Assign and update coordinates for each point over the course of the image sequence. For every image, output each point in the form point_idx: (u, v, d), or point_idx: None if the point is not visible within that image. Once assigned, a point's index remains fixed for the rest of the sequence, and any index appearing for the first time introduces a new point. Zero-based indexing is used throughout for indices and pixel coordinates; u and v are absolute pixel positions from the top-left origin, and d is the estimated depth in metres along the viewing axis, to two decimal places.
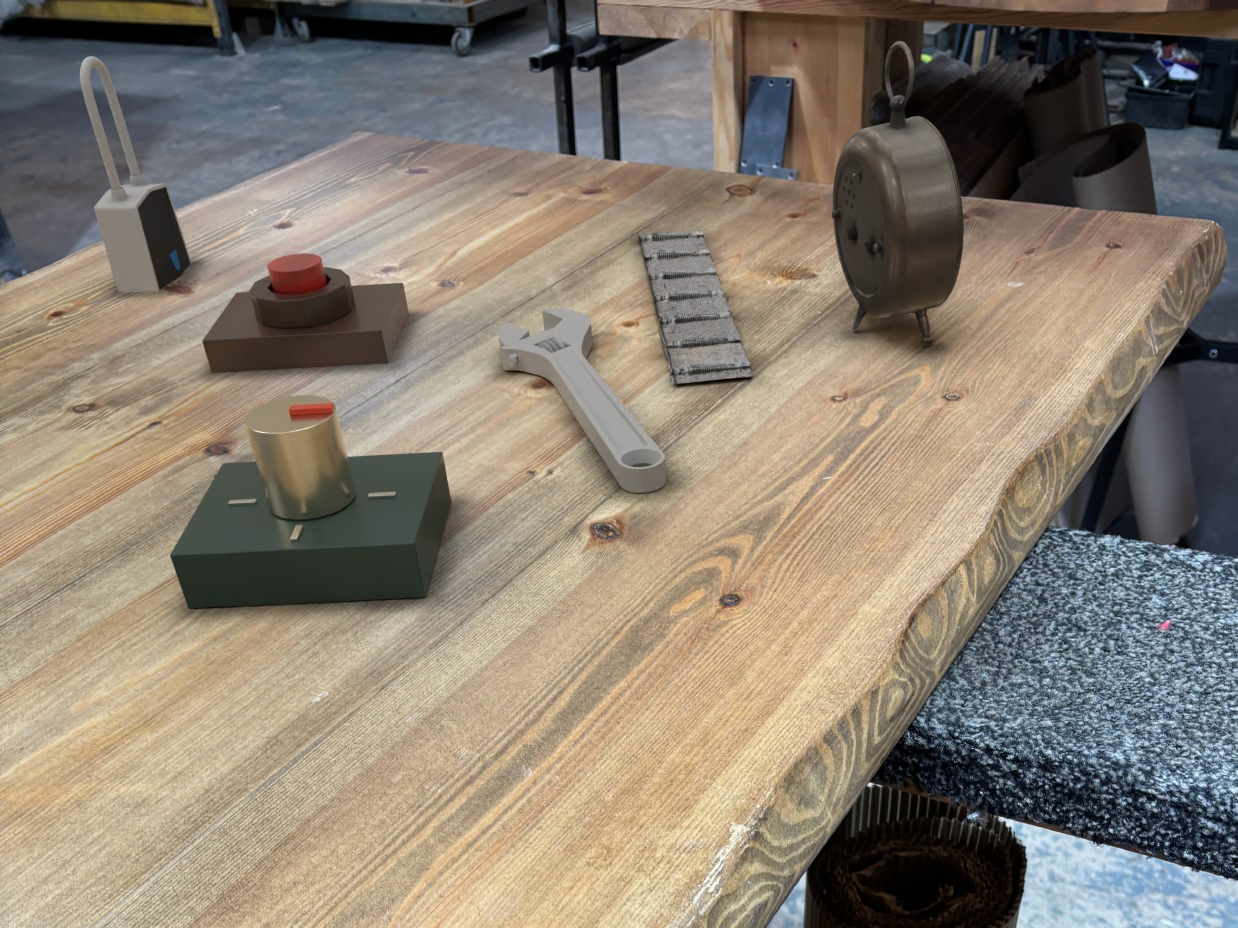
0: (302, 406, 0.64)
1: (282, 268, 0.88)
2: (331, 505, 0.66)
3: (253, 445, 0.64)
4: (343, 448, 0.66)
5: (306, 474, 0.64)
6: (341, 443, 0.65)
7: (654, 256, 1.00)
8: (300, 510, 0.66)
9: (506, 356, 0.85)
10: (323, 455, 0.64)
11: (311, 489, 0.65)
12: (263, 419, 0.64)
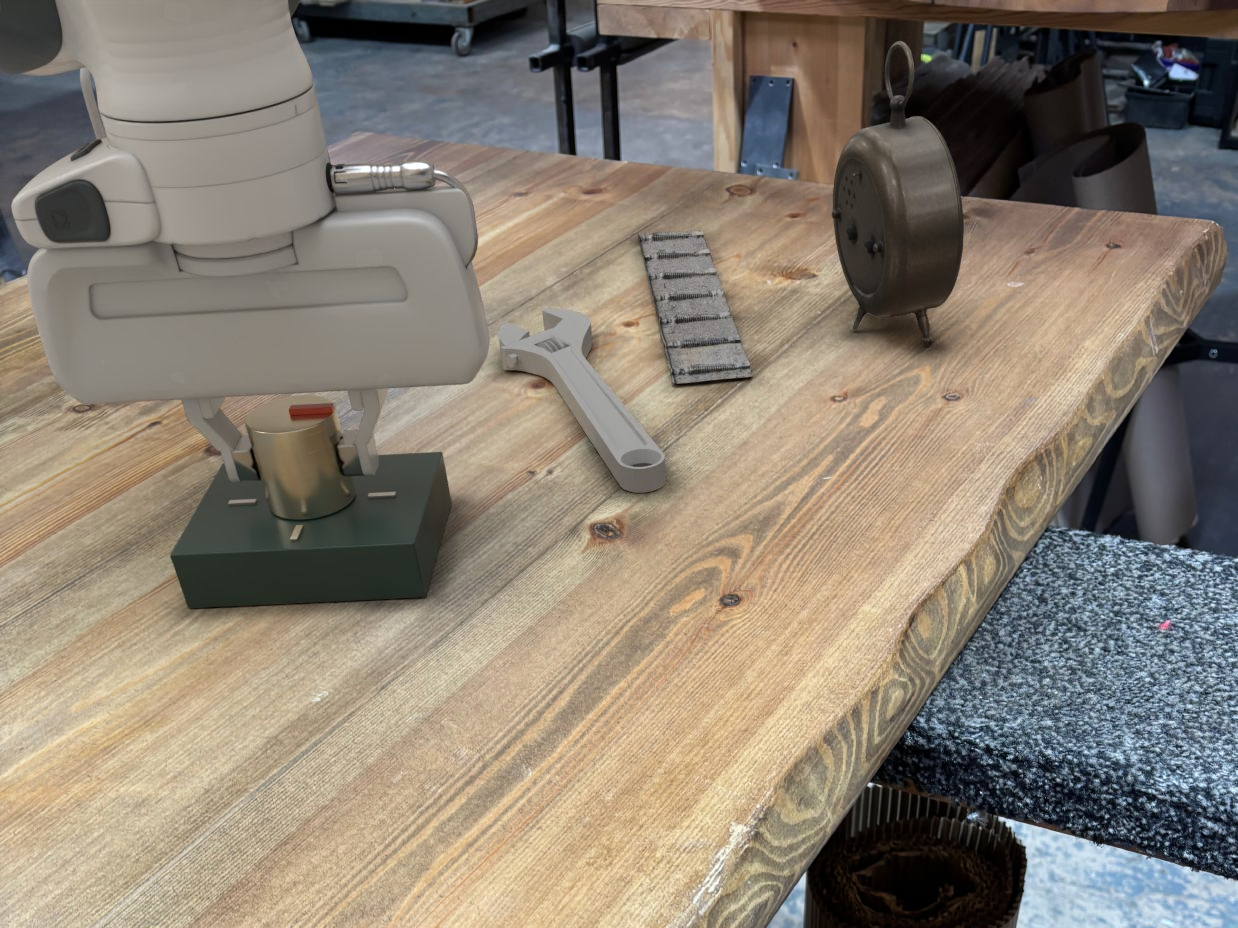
0: (302, 406, 0.64)
1: None
2: (331, 505, 0.66)
3: (253, 445, 0.64)
4: None
5: (305, 474, 0.64)
6: None
7: (654, 256, 1.00)
8: (300, 510, 0.66)
9: (506, 356, 0.85)
10: (323, 455, 0.64)
11: (311, 489, 0.65)
12: (263, 419, 0.64)
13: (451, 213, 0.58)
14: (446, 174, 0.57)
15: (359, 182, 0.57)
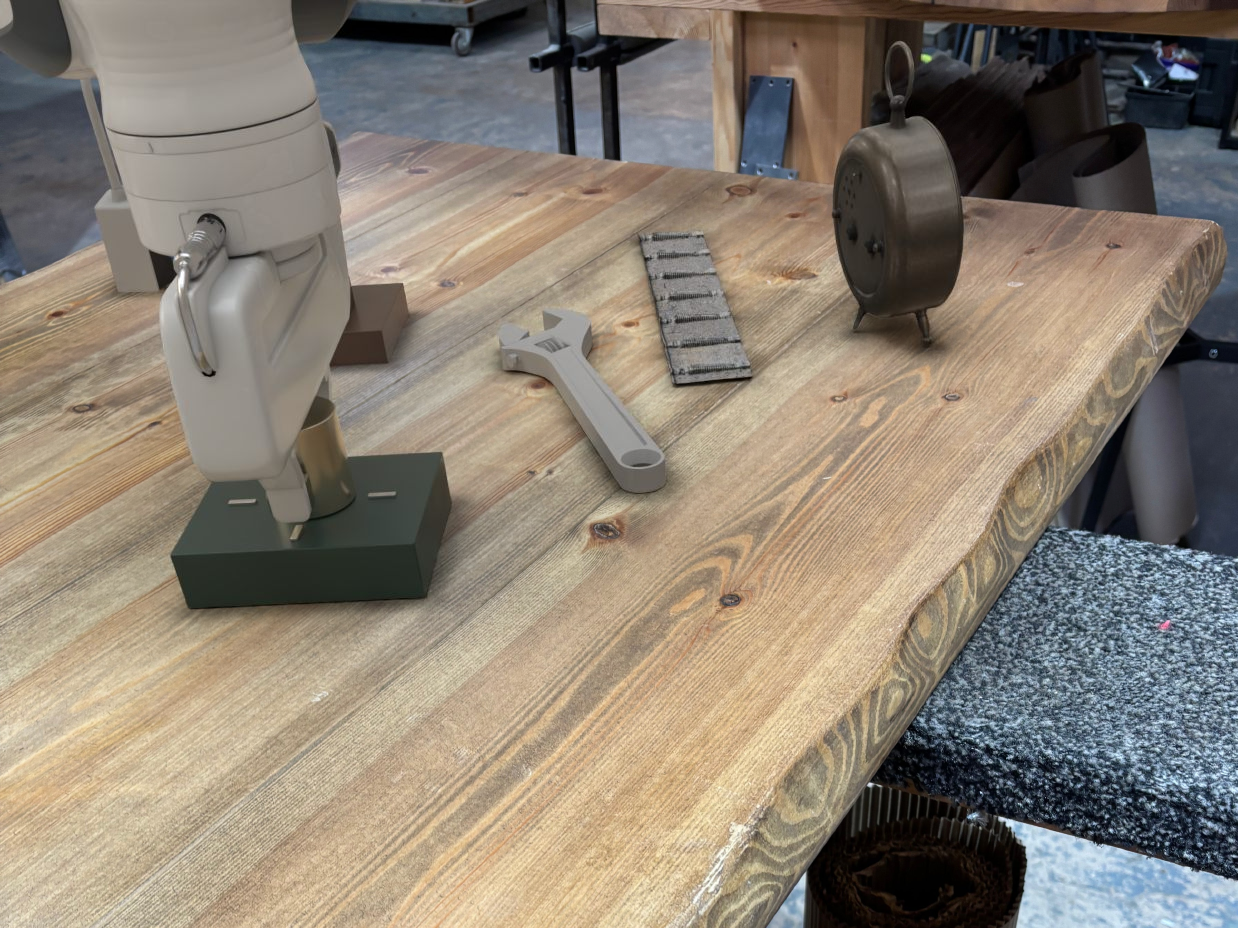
0: None
1: None
2: None
3: None
4: None
5: None
6: None
7: (654, 256, 1.00)
8: None
9: (506, 356, 0.85)
10: None
11: None
12: None
13: None
14: (178, 273, 0.51)
15: None
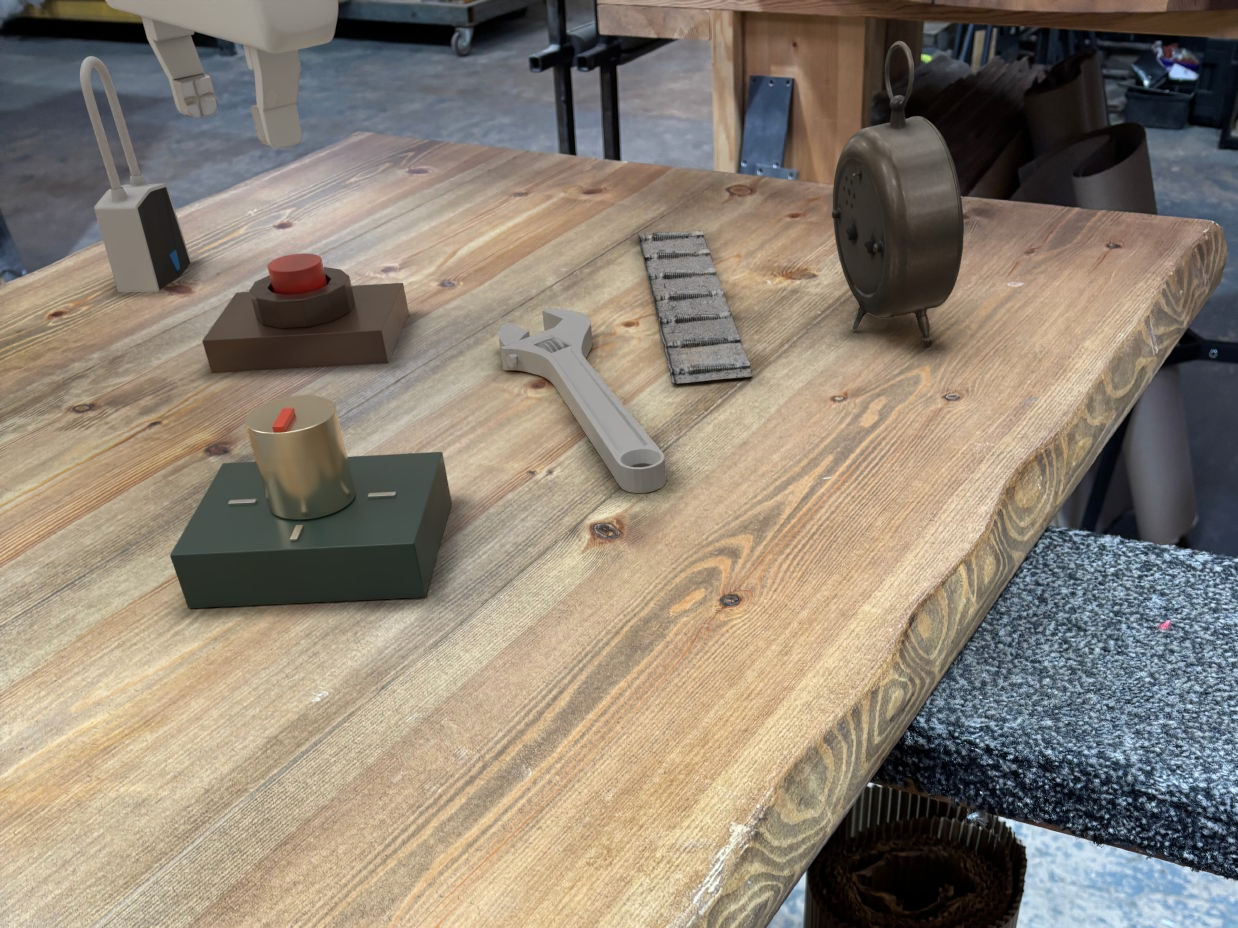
0: (285, 413, 0.64)
1: (282, 268, 0.88)
2: (270, 505, 0.66)
3: None
4: (289, 470, 0.64)
5: None
6: (285, 464, 0.64)
7: (654, 256, 1.00)
8: None
9: (506, 356, 0.85)
10: (259, 459, 0.64)
11: (261, 479, 0.66)
12: (284, 403, 0.65)
13: None
14: None
15: None
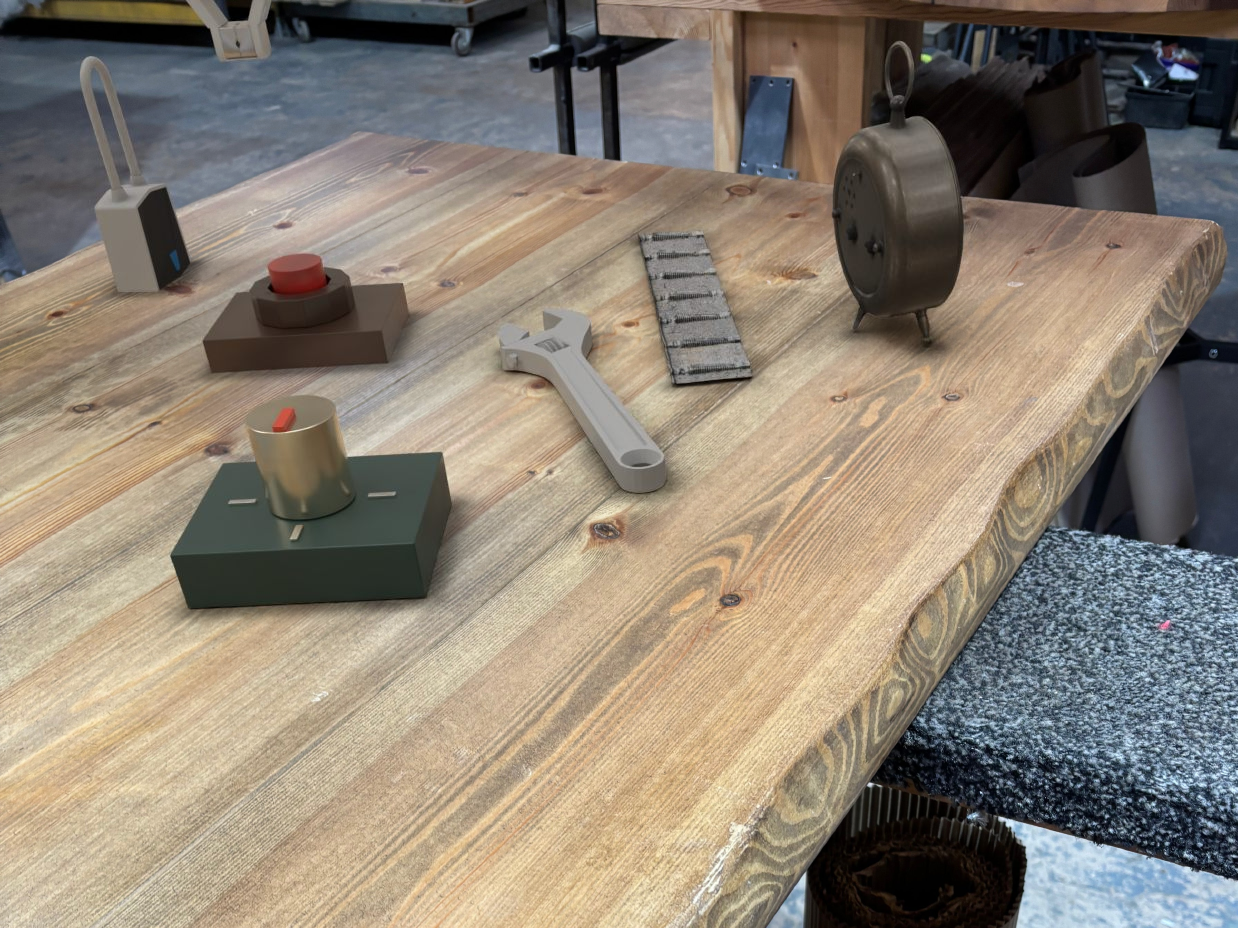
0: (285, 413, 0.64)
1: (282, 268, 0.88)
2: (270, 505, 0.66)
3: None
4: (289, 470, 0.64)
5: None
6: (285, 464, 0.64)
7: (654, 256, 1.00)
8: None
9: (506, 356, 0.85)
10: (259, 459, 0.64)
11: (261, 479, 0.66)
12: (284, 403, 0.65)
13: None
14: None
15: None
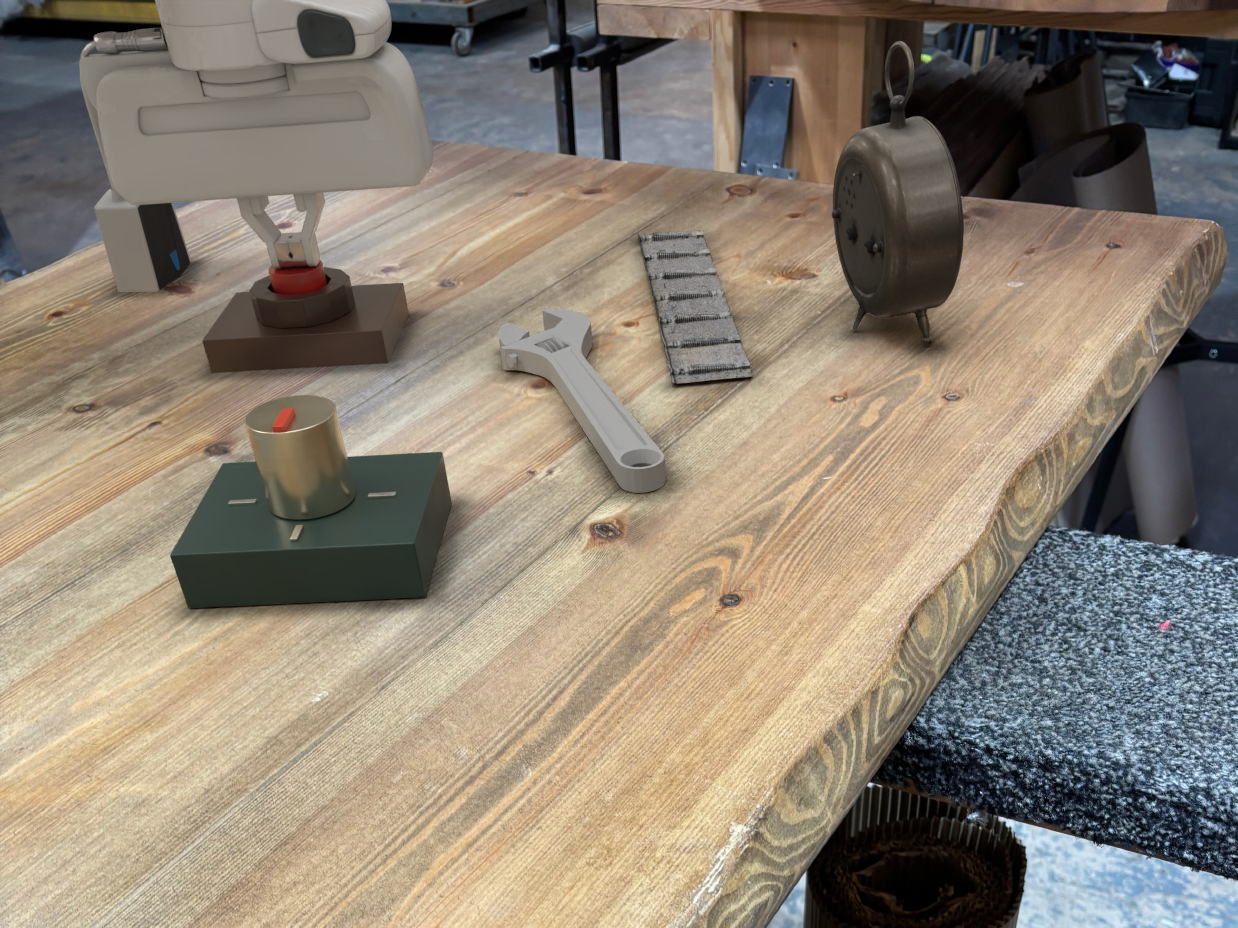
0: (285, 413, 0.64)
1: (283, 272, 0.88)
2: (270, 505, 0.66)
3: None
4: (289, 470, 0.64)
5: None
6: (285, 464, 0.64)
7: (654, 256, 1.00)
8: None
9: (506, 356, 0.85)
10: (259, 459, 0.64)
11: (261, 479, 0.66)
12: (284, 403, 0.65)
13: None
14: (88, 44, 0.80)
15: None
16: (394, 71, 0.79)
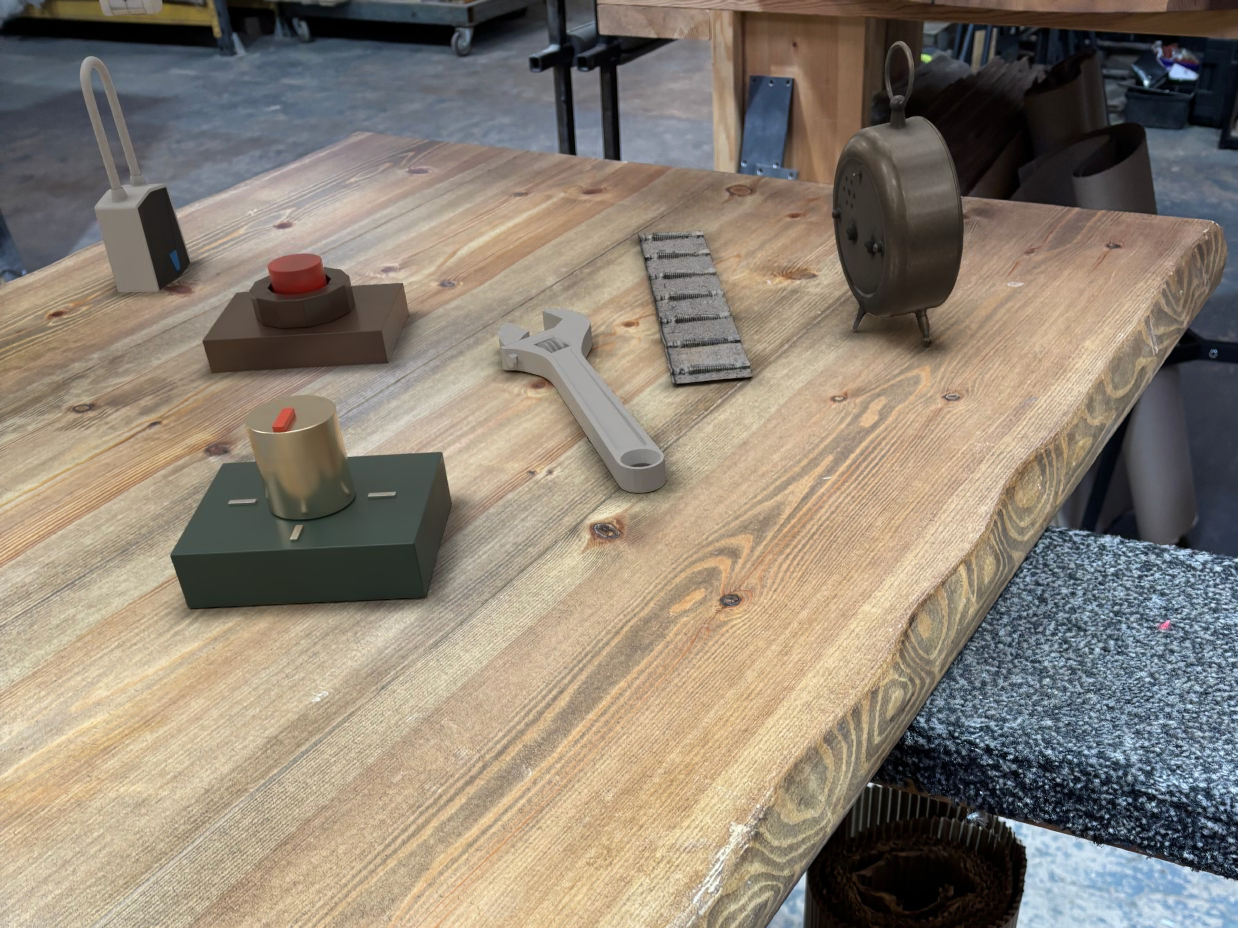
0: (285, 413, 0.64)
1: (282, 268, 0.88)
2: (270, 505, 0.66)
3: None
4: (289, 470, 0.64)
5: None
6: (285, 464, 0.64)
7: (654, 256, 1.00)
8: None
9: (506, 356, 0.85)
10: (259, 459, 0.64)
11: (261, 479, 0.66)
12: (284, 403, 0.65)
13: None
14: None
15: None
16: None
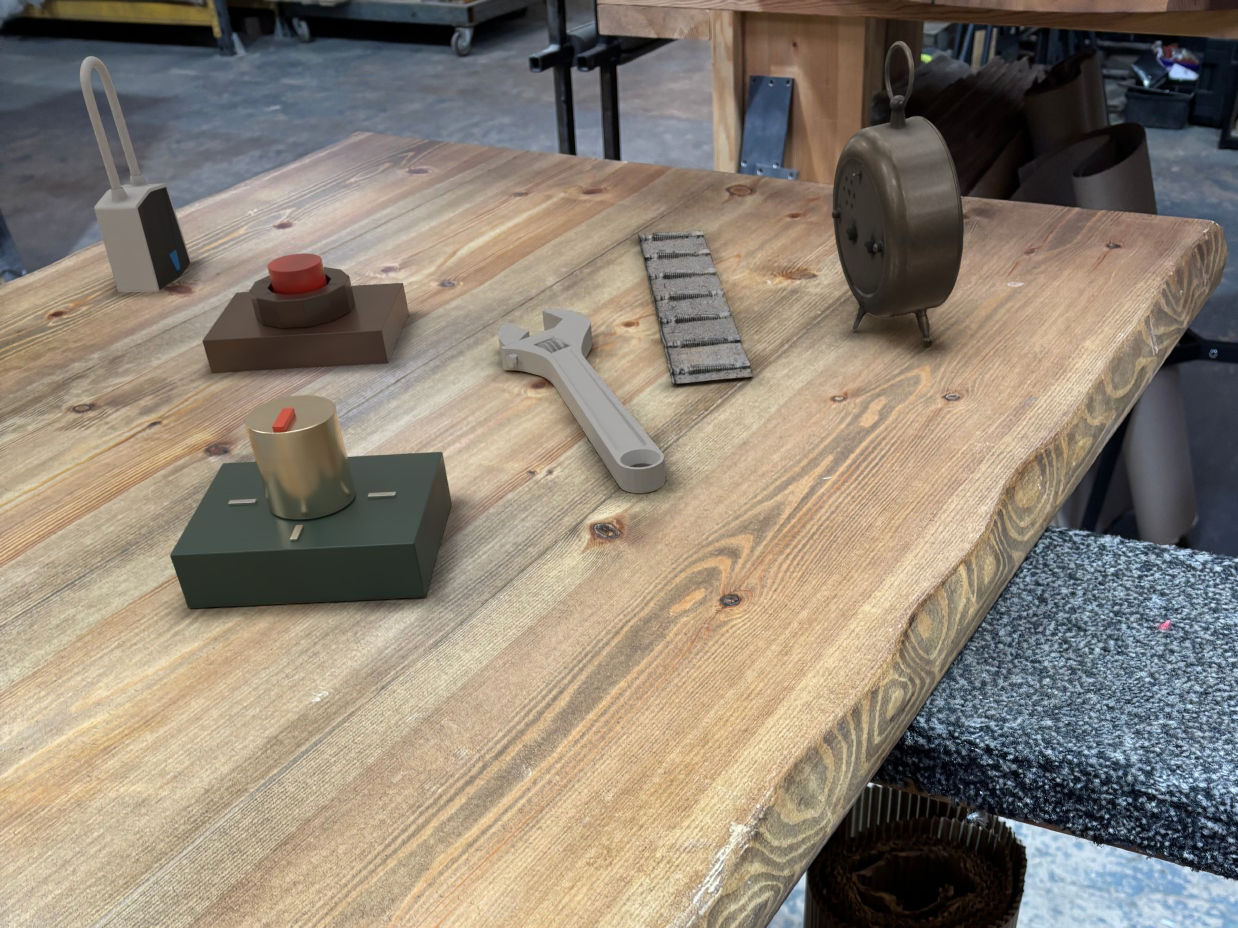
0: (285, 413, 0.64)
1: (282, 268, 0.88)
2: (270, 505, 0.66)
3: None
4: (289, 470, 0.64)
5: None
6: (285, 464, 0.64)
7: (654, 256, 1.00)
8: None
9: (506, 356, 0.85)
10: (259, 459, 0.64)
11: (261, 479, 0.66)
12: (284, 403, 0.65)
13: None
14: None
15: None
16: None
